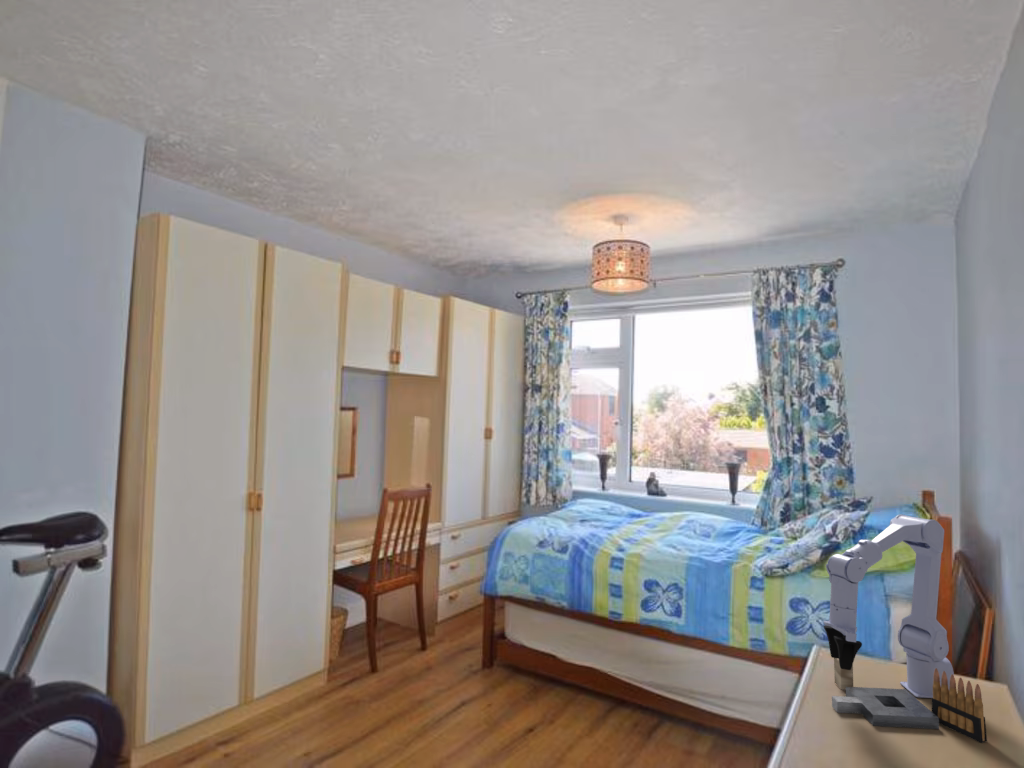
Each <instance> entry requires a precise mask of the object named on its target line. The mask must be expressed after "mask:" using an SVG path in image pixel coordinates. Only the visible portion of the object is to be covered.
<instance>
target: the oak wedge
mask: <svg viewBox="0 0 1024 768" xmlns="http://www.w3.org/2000/svg"><path fill="white" fill-rule="evenodd" d="M833 671H834V672H833V673H834V674H833V675H834V684H835V683H836V684H837V685H838V686H837V685H836V684H835V685H836V686H837V687H838V688H839V689H840V690H841V689H842V691H846V687H854V664H853V665H852V668H851V670H846V669H841V668H840V664H839V659H838V658H833Z"/></svg>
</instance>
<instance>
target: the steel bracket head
mask: <svg viewBox="0 0 1024 768" xmlns="http://www.w3.org/2000/svg"><path fill="white" fill-rule="evenodd" d="M831 707H832V708H833V709H834V711H835V712H836V713H839V714H859V715H862V716H863V717H865V719H866V720H867V721H868V722H869V723H870V724H871V726H873V727H889V728H890V727H891V728H906V729H907V728H908V729H925V730H926V729H927V730H930V729H931V730H939V729H940V724H939V718H938V717H937V716H936V715H935V714H934V713H933V712H932V710H930V709H929V708H928V707H926V705H924V704H923V702H921V701H920V700H919V699H917V697H915V696H914V695H913V694H912V693H911V692H910V691H908V690H907V689H906V688H888V687H887V688H884V687H883V688H882V687H866V686H865V687H862V686H853V687H846V690H845V695H844V696H843V695H842V696H841V695H840V696H839V695H831Z"/></svg>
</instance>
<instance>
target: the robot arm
mask: <svg viewBox="0 0 1024 768" xmlns="http://www.w3.org/2000/svg"><path fill="white" fill-rule="evenodd" d="M889 521H890V522H889V525H888V526H887V527H886V528H885V529H883V531H881V532H880V533H878V534H877V535H876V536H875V537H874V538H873V539H872V540H870V539H860V540H858V541H857V544H855V545H854V546H852V547H851V548H849V549H846V550H845V551H844V552H843V553H842V554H841V553H840V554H839V553H836V554H833V555H832V556H830V557H829V559H828V561H827V563H826V564H825V568H826V571H827V574H828V575H829V577H828V578H829V579H828V580H829V583H830V597H829V598H830V601H829V620H823V624H824V625H823V629H824V631H825V634H826V636H827V641H828V646H829V653H830V657H831V659H834V658H838V659H839V664H840V668H841V669H846V670H851V668H852V665H853V666H854V661H855V658H856V656H857V654H858V652H859V650H860V649H861V648H862V646H863V643H862V641H860V640H857V638H858V637H857V631H858V626H857V620H858V619H857V615H858V614H857V613H858V594H859V582H862V581H863V579H864V578H865V575H866V573H867V572H868V569H870V568H871V567H873V566H874V565H875V564H877V563H878V562H880V561H881V560H882V559H883V553H884V552H886V551H888V550H889V549H891V548H893V547H895V546H896V545H898V544H900V543H902V542H903V543H905V544H907V545H908V546H909V547H910V548H911V550H913V552H914V553H915V564H914V574H913V587H912V598H911V600H912V601H911V609H910V610H911V611H910V614H909V615H907V616H905V617H903V618H902V619H901V624H900V626H899V628H898V632H897V641H898V644H899V645H900V646H901V647H902V648H903V649H902V650H903V652H905V653H906V678H907V679H906V680H907V681H900V682H899V684H900V685H901V686H902V687H903V688H904V689H906V690H907V691H908V692H909V693H910V694H911V695H913V696H914V697H915V698H920V699H932V698H933V680H934V679H933V676H934V670H935V668H937V670H938V672H939V677H940V686H941V679H942V673H943V671H945V673H946V675H947V680H948V689H949V687H950V677H951V675H952V674H953V675H954V674H955V673H954V668H953V664H952V663H951V661H950V660H949V659H948V657H947V656H948V654H949V648H950V647H949V642H948V637H947V635H948V631H947V630H946V628H945V627H944V626H943V625H942V624H941V623H940V622H939V621H938V619H937V616H938V615H937V612H938V602H939V601H938V599H939V588H940V587H939V586H940V575H941V563H942V561H941V560H942V553H944V552H943V551H944V539H945V528H943V526H942V525H941V523H940V522H939V521H938V520H935V519H927V518H923V517H918V516H909V515H905V514H901V513H900V514H897V515H896V516H894V517H893V518H891V519H890V520H889ZM954 676H955V675H954Z"/></svg>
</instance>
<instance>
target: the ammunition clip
mask: <svg viewBox="0 0 1024 768" xmlns="http://www.w3.org/2000/svg"><path fill="white" fill-rule="evenodd" d="M933 679H934V680H933V698H931V712H933V713H934V714H935V715H936V716H937V717H938V718H939V725H941V726H943V727H946V728H948V729H950V730H952V731H953V732H954V731H955V732H957V733H958V734H961V735H963V736H965V737H967V738H969V739H971V740H973V741H976V742H978V743H980V744H981V743H982V744H983V743H987V742H988V736H987V726H986V725H987V724H986V716H984V703H983V698H982V691H981V690H982V689H981V688H980V685H979V684H978V683H976V685H975V688H974V691H973V686H972V683H971V680H967V682H966V687H965V685H964V681H963V680H964V679H962V677H959V678H958V681H957V683H956V677H955V675H953V674H952V675H951V677H950V687H949V689H948V680H947V675H946V673H945V671H943V673H942V679H941V686H940V677H939V672H938V670H937V668H935V670H934V676H933Z"/></svg>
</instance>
